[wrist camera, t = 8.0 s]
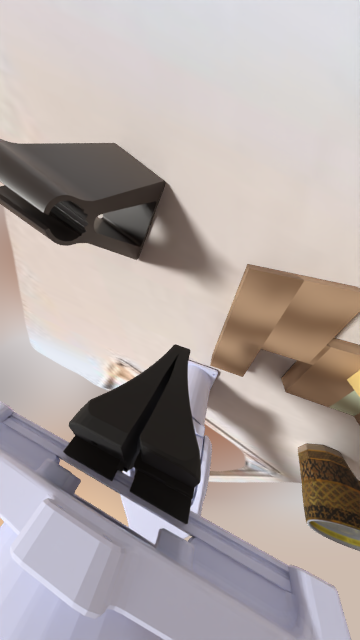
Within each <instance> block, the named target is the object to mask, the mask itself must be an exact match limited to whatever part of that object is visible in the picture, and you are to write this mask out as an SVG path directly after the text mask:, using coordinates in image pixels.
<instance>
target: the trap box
mask: <svg viewBox="0 0 360 640" xmlns="http://www.w3.org/2000/svg"><path fill="white" fill-rule="evenodd" d="M359 312H360V288H358V287H355V286H350V285H345V284H341V283H336V282H331V281H326V280H322V279H317V278H312V277H307V276H303V275H298V274H293V273H288V272H283V271H279V270H274V269H269V268H264V267H260V266H255V265H250V264H247V267H246V269H245V272H244V274H243V277H242V280H241V282H240V285H239V287H238V290H237V292H236V295H235V298H234V300H233V303H232V305H231V308H230V311H229V313H228V316H227V318H226V321H225V323H224V326H223V329H222V331H221V334H220V336H219V339H218V342H217V344H216V347H215V349H214V352H213V354H212V359H211V365H210V366H213V367H216V368H219V369H222V370H225V371H227V372H230V373H233V374H236V375H239V376H242V377H243V376H244V374H245V373H246V371H247V370H248V368H249V366H250V365H251V363H252V362H253V360H254V359H255V357H256V355H257V354H258V352H259V351H260V349H263V350H266V351H269V352H272V353H276V354H279V355H282V356H285V357H289V358H292V359H295V360H297V361H296V362H295V363H294V365H293V366H292V367H291V368H290V369H289V370H288V371H287V372H286V374H285V375H284V376H283V377H282V378H281V379H282V382H283V385H284V389H285V392H287V393H290V394H293V395H295V396H298V397H301V398H304V399H307V400H310V401H312V402H315V403H318V404H321V405H324V406H327V407H329V408H332V409H335V410H338V411H341V412H344V413H346V414H349V415H352V416H354V417H355V419H356V420H357V422H358V423H359V425H360V397H359V396H358V394H357V393H356V392H355V390H354V389H353V387H352V386H351V385H350V383H349V382H348V381H347V379H348V378H350V377H351V376H352V375H354V374H355V373H356V372H358V371H359V370H360V345H358V344H354V343H350V342H347V341H343V340H339V339H336V338H334V337H335V336H336V335H337V334H338V333H339V332H340V331H341V330H342V329H343V328H344V327H345V326H346V325H347V324H348V323H349V322H350V321H351V320H352V319H353V318H354V317H355V316H356V315H357V314H358V313H359Z"/></svg>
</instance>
